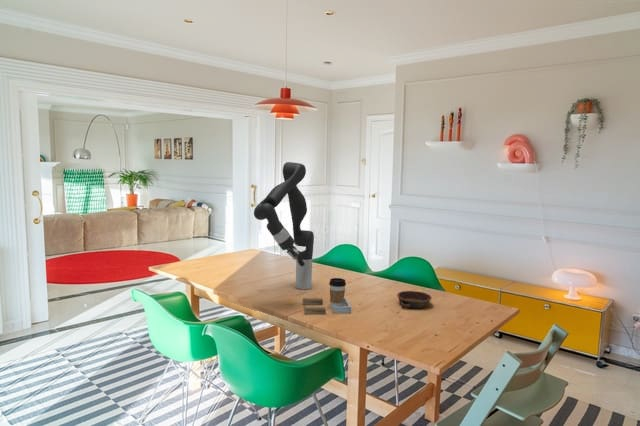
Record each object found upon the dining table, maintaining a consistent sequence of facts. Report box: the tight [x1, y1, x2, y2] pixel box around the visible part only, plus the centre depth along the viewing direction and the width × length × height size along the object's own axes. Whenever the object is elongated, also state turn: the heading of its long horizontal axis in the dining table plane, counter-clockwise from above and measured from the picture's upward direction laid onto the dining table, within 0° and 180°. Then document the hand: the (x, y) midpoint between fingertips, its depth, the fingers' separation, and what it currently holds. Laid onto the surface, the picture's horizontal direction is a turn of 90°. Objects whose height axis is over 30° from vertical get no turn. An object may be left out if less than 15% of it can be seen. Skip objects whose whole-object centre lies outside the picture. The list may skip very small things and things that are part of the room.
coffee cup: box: [328, 277, 347, 311], centre depth 218 cm, size 8×8×15 cm
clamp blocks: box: [302, 297, 327, 315], centre depth 218 cm, size 17×10×2 cm, turn 5°
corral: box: [329, 297, 352, 314], centre depth 219 cm, size 14×8×3 cm, turn 5°
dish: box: [396, 290, 432, 309], centre depth 229 cm, size 18×22×5 cm
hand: (302, 265), depth 219 cm, fingers closed
